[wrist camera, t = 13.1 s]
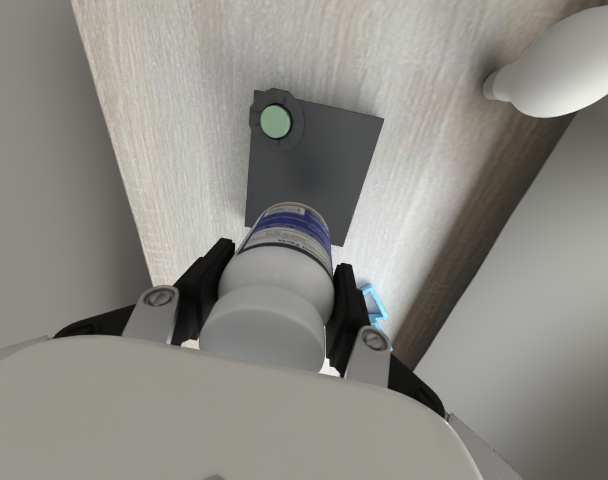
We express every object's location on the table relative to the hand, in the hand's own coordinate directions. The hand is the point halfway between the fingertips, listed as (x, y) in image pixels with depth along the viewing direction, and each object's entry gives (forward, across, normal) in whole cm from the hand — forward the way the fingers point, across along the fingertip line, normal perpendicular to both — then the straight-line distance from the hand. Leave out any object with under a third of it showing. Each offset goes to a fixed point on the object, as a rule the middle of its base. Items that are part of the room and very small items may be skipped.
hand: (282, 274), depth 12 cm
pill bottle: (+5, 0, 0) cm, 5 cm away
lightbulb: (+19, -17, -15) cm, 29 cm away
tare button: (+16, +4, -7) cm, 18 cm away
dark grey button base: (+19, 0, -2) cm, 19 cm away
